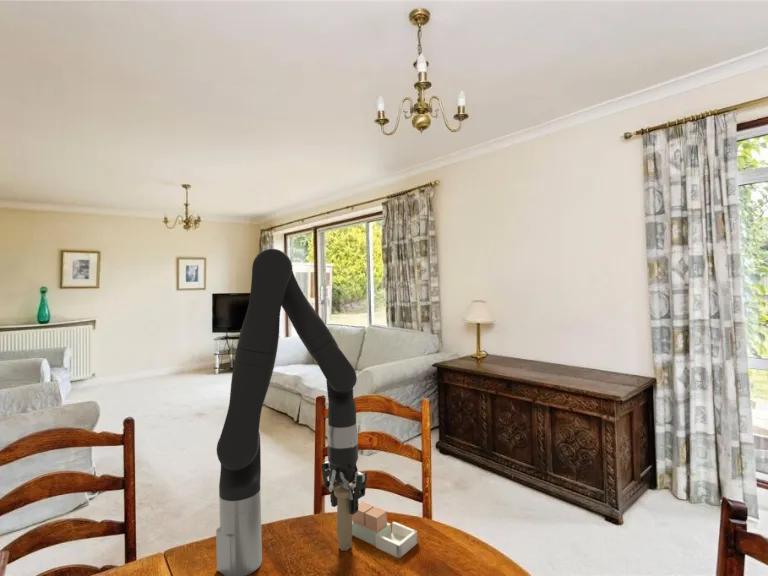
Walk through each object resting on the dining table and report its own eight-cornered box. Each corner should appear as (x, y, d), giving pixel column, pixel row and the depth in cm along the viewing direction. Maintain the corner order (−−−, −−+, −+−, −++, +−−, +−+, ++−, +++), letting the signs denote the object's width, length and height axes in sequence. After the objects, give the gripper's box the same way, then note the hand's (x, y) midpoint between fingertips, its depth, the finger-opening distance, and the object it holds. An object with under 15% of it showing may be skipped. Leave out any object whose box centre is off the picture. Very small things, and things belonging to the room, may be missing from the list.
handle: (334, 556, 100) (332, 493, 100) (336, 540, 106) (335, 481, 107) (354, 555, 100) (352, 492, 100) (355, 539, 107) (354, 481, 107)
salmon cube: (377, 531, 105) (376, 518, 105) (365, 526, 107) (365, 513, 107) (387, 524, 108) (386, 511, 108) (375, 519, 110) (375, 506, 110)
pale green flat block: (376, 546, 103) (376, 534, 104) (350, 534, 109) (350, 522, 109) (391, 535, 108) (390, 523, 108) (365, 524, 114) (365, 513, 114)
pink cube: (363, 526, 107) (363, 512, 107) (352, 521, 110) (352, 507, 110) (373, 519, 111) (373, 506, 111) (362, 514, 113) (362, 501, 113)
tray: (399, 558, 99) (399, 545, 99) (375, 547, 103) (375, 535, 103) (417, 543, 104) (417, 531, 105) (394, 533, 109) (394, 521, 109)
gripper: (312, 440, 105) (313, 506, 105) (353, 452, 96) (355, 525, 96) (333, 432, 111) (334, 495, 111) (374, 443, 102) (376, 511, 102)
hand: (344, 509), depth 103 cm, fingers closed on handle, 5 cm apart
